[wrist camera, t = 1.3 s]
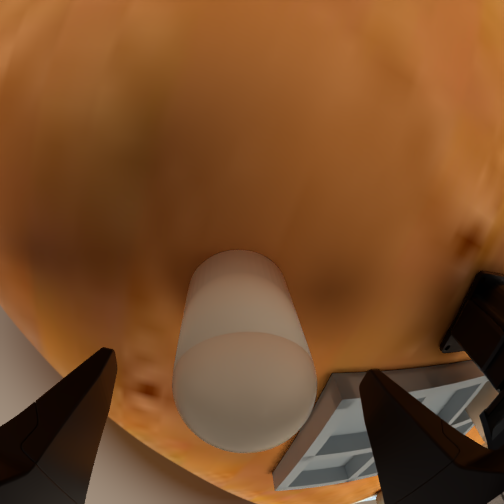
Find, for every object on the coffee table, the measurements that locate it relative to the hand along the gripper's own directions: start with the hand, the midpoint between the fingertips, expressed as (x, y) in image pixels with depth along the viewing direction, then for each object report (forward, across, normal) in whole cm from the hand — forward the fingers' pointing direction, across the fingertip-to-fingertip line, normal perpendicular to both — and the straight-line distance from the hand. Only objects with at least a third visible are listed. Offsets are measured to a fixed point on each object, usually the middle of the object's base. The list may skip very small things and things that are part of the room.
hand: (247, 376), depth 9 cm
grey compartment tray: (+5, -18, +13) cm, 23 cm away
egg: (+5, 0, 0) cm, 5 cm away
